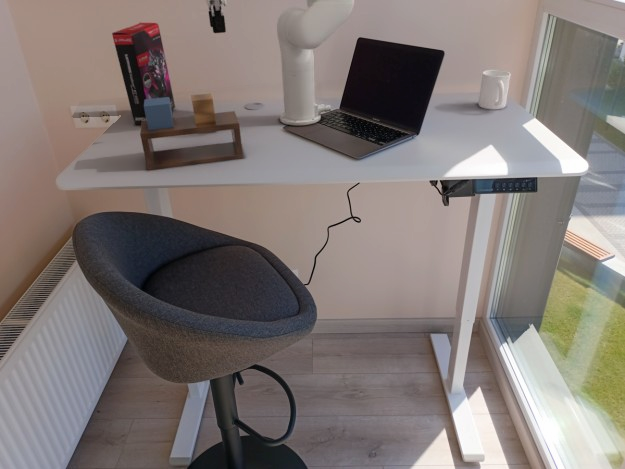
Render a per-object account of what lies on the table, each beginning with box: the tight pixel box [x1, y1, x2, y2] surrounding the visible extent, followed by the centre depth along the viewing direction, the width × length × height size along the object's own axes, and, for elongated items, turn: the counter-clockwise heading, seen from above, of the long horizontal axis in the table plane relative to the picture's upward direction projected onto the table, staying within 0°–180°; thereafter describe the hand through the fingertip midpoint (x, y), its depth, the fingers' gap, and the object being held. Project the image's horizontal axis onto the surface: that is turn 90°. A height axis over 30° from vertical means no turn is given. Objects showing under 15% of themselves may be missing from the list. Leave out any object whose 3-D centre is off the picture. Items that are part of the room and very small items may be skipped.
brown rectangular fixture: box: [139, 110, 244, 171], centre depth 131 cm, size 24×10×10 cm, turn 104°
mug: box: [478, 69, 512, 111], centre depth 157 cm, size 12×8×10 cm
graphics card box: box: [111, 21, 176, 126], centre depth 156 cm, size 17×7×27 cm, turn 168°
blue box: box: [144, 97, 174, 130], centre depth 126 cm, size 6×6×6 cm
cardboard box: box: [191, 93, 216, 124], centre depth 128 cm, size 5×5×6 cm
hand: (218, 29), depth 134 cm, fingers open, 9 cm apart
